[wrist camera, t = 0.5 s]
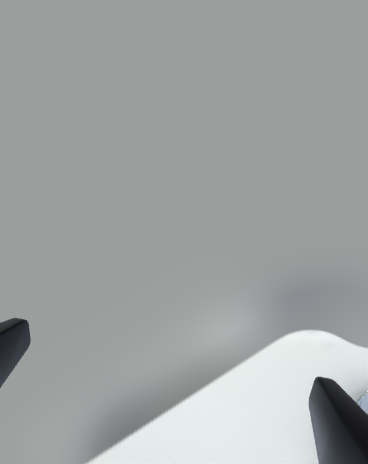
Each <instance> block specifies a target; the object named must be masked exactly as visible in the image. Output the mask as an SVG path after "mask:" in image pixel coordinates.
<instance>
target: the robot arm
mask: <svg viewBox="0 0 368 464" xmlns="http://www.w3.org/2000/svg"><path fill="white" fill-rule="evenodd" d="M29 345H30V332H29V324H28V322H27V320H24V319H19V318H13V319H10V320H7V321H4V322H1V323H0V388H1V386H2V385H3V383H4V382H5V380H6V379H7V377H8V376H9V375H10V373H11V372H12V370H13V369H14V368H15V366H16V365H17V363H18V362H19V360H20V359H21V357H22V356H23V355H24V353H25V352H26V350H27V349H28V347H29ZM309 410H310V415H311V421H312V427H313V432H314V438H315V443H316V449H317V454H318V460H319V464H368V414H367V413H366V412H365V411H364V410H363V409H362V408H361V407H360V406H359V405H358V404H357V403H356V402H355V401H354V400H353V399H352V398H351V397H350V396H349V395H348V394H347V393H346V392H345V391H344V390H343V389H342V388H341V387H340V386H339V385H338V384H337V383H336V382H335V381H334V380H332V379H329V378H324V377H316V379H315V381H314V384H313V387H312V390H311V393H310V397H309Z"/></svg>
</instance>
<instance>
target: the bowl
mask: <svg viewBox="0 0 368 464" xmlns="http://www.w3.org/2000/svg"><path fill="white" fill-rule="evenodd" d="M357 404H358V405H359V406H360V407H361V408H362V409H363V410H364V411H365V412H366V413H367V414H368V391H367V392H366V393H365V394H364V395H363V396H362V397H361V399H360V400H359V401H358V402H357Z"/></svg>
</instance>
